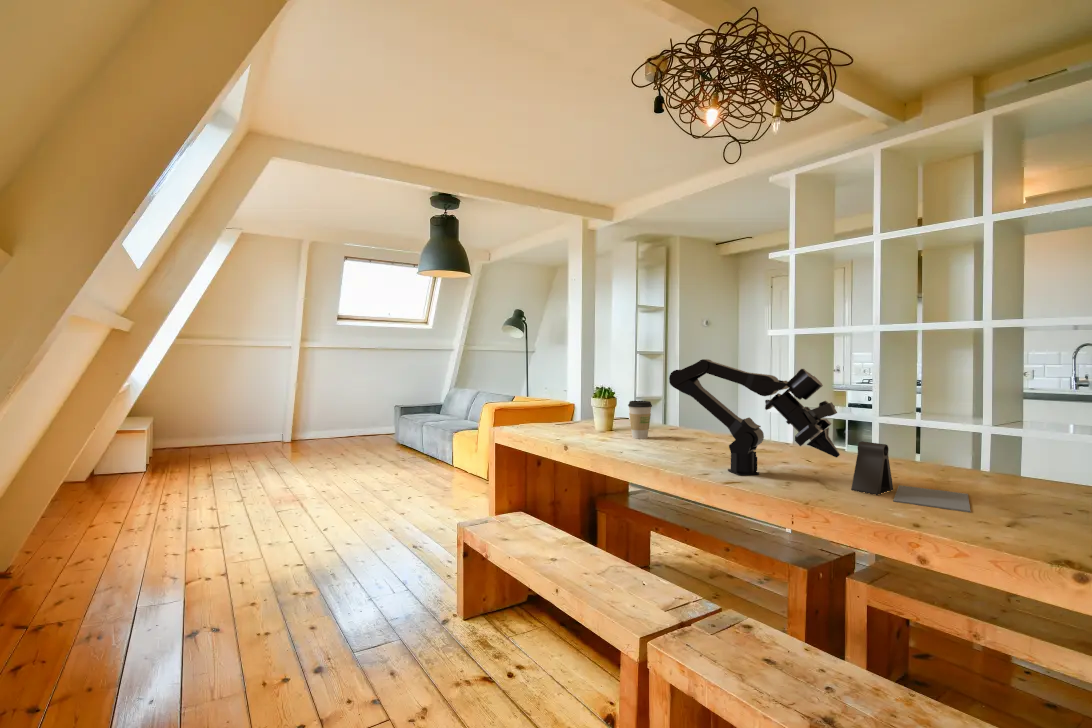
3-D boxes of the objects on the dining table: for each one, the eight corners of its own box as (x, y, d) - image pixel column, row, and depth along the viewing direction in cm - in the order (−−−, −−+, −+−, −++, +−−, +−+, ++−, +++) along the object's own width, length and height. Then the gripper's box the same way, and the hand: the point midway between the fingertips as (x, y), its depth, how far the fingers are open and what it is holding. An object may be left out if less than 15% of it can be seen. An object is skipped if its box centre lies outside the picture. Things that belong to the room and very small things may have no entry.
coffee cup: (654, 439, 212) (654, 402, 212) (629, 439, 212) (629, 402, 212) (649, 436, 222) (649, 400, 221) (626, 435, 222) (626, 400, 222)
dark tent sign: (868, 485, 138) (868, 439, 138) (893, 490, 133) (894, 443, 133) (851, 490, 133) (851, 443, 133) (876, 495, 128) (877, 446, 128)
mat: (893, 501, 123) (893, 500, 123) (899, 486, 137) (899, 485, 137) (970, 512, 114) (970, 511, 114) (967, 495, 129) (967, 493, 129)
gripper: (809, 393, 133) (859, 441, 126) (823, 389, 148) (868, 432, 141) (775, 422, 138) (822, 469, 131) (792, 415, 153) (835, 458, 146)
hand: (838, 456), depth 137 cm, fingers closed
